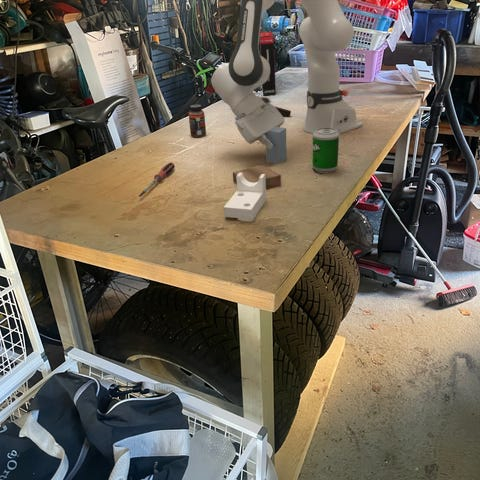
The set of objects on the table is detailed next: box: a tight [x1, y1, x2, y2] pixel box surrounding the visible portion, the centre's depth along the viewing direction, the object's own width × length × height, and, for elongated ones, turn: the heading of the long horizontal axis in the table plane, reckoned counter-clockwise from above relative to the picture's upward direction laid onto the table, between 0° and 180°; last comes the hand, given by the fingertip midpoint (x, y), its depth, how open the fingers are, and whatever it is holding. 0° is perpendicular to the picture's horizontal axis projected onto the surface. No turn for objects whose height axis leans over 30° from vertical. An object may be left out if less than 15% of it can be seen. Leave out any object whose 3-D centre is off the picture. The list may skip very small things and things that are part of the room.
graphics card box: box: [259, 31, 277, 97], centre depth 233 cm, size 17×7×27 cm, turn 179°
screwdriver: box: [137, 162, 175, 198], centre depth 141 cm, size 25×3×3 cm, turn 166°
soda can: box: [311, 128, 340, 174], centre depth 140 cm, size 8×8×12 cm
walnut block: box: [232, 164, 282, 190], centre depth 136 cm, size 10×10×3 cm
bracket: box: [223, 173, 267, 223], centre depth 121 cm, size 13×7×8 cm, turn 162°
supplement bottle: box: [188, 104, 207, 138], centre depth 179 cm, size 6×6×11 cm
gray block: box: [265, 126, 288, 164], centre depth 151 cm, size 5×5×10 cm
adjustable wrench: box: [275, 106, 292, 118], centre depth 201 cm, size 8×3×25 cm
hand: (277, 143), depth 150 cm, fingers open, 6 cm apart
